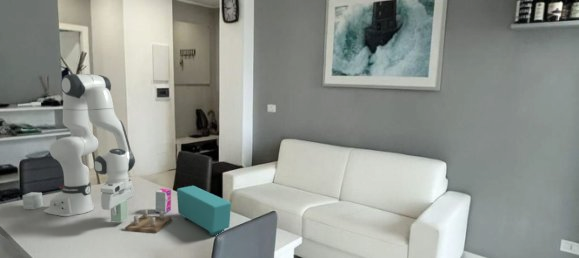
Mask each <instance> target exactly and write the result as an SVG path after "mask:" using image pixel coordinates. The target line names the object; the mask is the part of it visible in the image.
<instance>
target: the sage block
mask: <svg viewBox="0 0 579 258" xmlns="http://www.w3.org/2000/svg"><path fill="white" fill-rule="evenodd" d="M115 209H116V211H118V212H117V213H118V214H116V215H112V211H111V210H110V222H115V223H116V222H118V223H121V222H124V221H125V220H126V219H128V200H125V201H123V202H121V203H119V205H117V206H116V208H115Z"/></svg>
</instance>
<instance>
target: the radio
mask: <svg viewBox="0 0 579 258" xmlns="http://www.w3.org/2000/svg"><path fill="white" fill-rule="evenodd" d="M176 196H177V198H176V199H177V212H178V214H179V215H181V216H183V220H186V219H189V221H191V222H193V223H194V224H196V225H198V226H200V227H201V228H202V229H205V230H207V231H208V233H209V235H211V236H214V235H219V234H218V233H220V232H222V231H224V232H225V229H229V228H230V224H231V212H232V211H231V210H232V202H231V201H228V199H227V200H226V199H224V198H222V197H220V196H218V195H215V194H213V193H210V192H209V191H206V190H204V189H201V188H200V187H197V186H195V185H188V186H184V187H180V188H179V187H178V188H177V189H176ZM220 234H221V233H220Z"/></svg>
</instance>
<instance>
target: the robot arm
mask: <svg viewBox="0 0 579 258" xmlns="http://www.w3.org/2000/svg"><path fill="white" fill-rule="evenodd" d="M60 88H61V90H62V93H64V95H63V102H62V125H63V126H64V127H66V128H68V130H69V133H70V136H66V137H61V138H59V139H56V140H54V141H52V143H50V145H49V154H50V155H51V157H52V158H53V159H54V160H56V161H57V162H58V163H59V164H60V166H61V169H62V171H63V172H62V173H63V181H64V182H63V184H62V185H59V189H61V191H60V192H58V193H57V195H55V196H53V197H52V198H51V199H50V203H49V207H46V208H45V209H44V211H43V212H44V213H45V214H49V215H56V216H60V217H71V216H75V215H81V214H85V213H88V212H92V211H93V210H94V209H95V206H94V203H93V200H92V199H93V198H92V195H91V192H92V191H91V190H92V189H91V188H92V186H91V182H90V169H89V167H88V166H87V165H86V164H84V163H83V161H82V156H83V157H84V156H87V155H90V154H92V153H93V152H95V151H96V150H98V148H99V140H98V137H96V136H95V135H94V134H93V133H92V131H91V128H90V123H91V124H92V125H93V126H94V127H96V128H98V129H100V130H104V131H107V132H110V133H112V134H113V135H114V138H115V141H116V145H117V148H112V149H109V150H108V151H107V152H106V153H104V154H99V155H97V157H95V159H94V161H93V169H94V171H95V172H96V173H97V174H99V175H101V176H102V175H106V176H107V181H105V183H104V185H102V186H101V187H100V192H101V195H100V205H101V206H100V207H101V209H103V210H106V211H108V210H109V211H110V212H111V211H112V215H116V214H118V213H117V212H118V211H116V209H115V208H116V206H117V205H119V203H121V202H123V201H125V200H127V201H128V200H130V199H132V198H133V197H134V195H135V188H134V184H133V181H132V180H131V179H130V177H129V176H130V175H129V171H131V170H132V169H133V168H134V166H135V163H136V159H135V156H134V154H133V152H132V148H131V146H130V142H129V139H128V136H127V132H126V131H127V130H126V129H125V125H124V123H123V121H122V119H121V120H120V119H119V118H118V117H117V115H116V112H115V108H114V103H113V102H114V101H113V97H112V95H111V90H112V83H111V80H110V79H109V78H108V77H107V76H104V75H101V74H98V75H97V74H90V73H85V74H84V73H83V74H82V73H81V74H80V73H77V74H76V73H70V74H66V75H64V76H63V78H62V79H61V81H60Z"/></svg>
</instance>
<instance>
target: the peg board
mask: <svg viewBox="0 0 579 258" xmlns="http://www.w3.org/2000/svg"><path fill="white" fill-rule="evenodd" d="M142 212H143V215H141V216H140V217H139V215H135V216H133V221H132V222H131V223H130V224H127V225H126V226H125V229H124V230H125V231H129V232H141V233H151V234H157V233H158V232H160V231H161V230H162V229H163V228H164V227H166V226H167V225H168V224H169V223H170V222H171V221H172V217H171V216H165V214H164V211H159V213H158V214H159V216H157V215H149V213H148V212H149V211H148V209H143V210H142Z"/></svg>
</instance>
